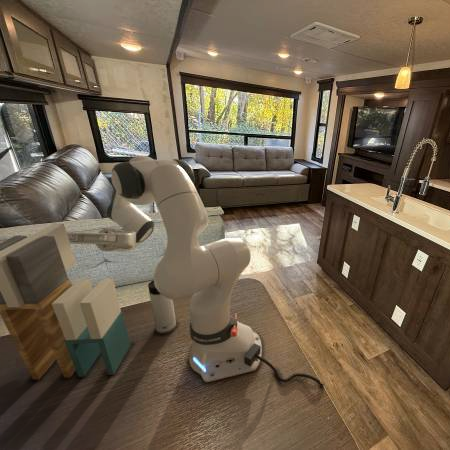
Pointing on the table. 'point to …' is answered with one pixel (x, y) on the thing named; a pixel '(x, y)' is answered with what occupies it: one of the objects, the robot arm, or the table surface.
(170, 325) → the travel mug
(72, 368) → the book stand
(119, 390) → the table surface
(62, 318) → the cream teal blocky piece
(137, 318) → the table surface
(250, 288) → the table surface
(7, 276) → the white book
